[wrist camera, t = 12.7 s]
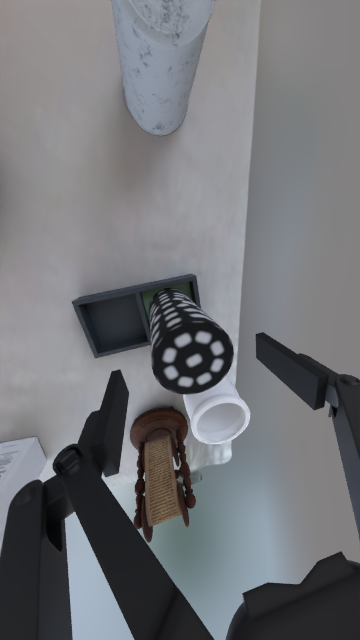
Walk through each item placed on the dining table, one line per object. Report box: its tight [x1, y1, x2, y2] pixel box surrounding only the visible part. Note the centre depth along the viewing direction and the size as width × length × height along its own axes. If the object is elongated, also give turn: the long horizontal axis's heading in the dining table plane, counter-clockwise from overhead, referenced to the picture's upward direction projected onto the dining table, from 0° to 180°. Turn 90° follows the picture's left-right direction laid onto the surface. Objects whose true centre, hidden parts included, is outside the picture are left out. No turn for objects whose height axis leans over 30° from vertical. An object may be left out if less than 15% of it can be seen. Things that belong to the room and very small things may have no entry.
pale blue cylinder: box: [112, 0, 215, 136], centre depth 20 cm, size 10×10×12 cm
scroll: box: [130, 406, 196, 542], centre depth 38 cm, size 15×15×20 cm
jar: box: [183, 376, 250, 444], centre depth 36 cm, size 11×10×15 cm
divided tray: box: [72, 274, 201, 358], centre depth 34 cm, size 11×22×4 cm, turn 100°
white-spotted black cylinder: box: [150, 288, 234, 395], centre depth 26 cm, size 8×8×20 cm
